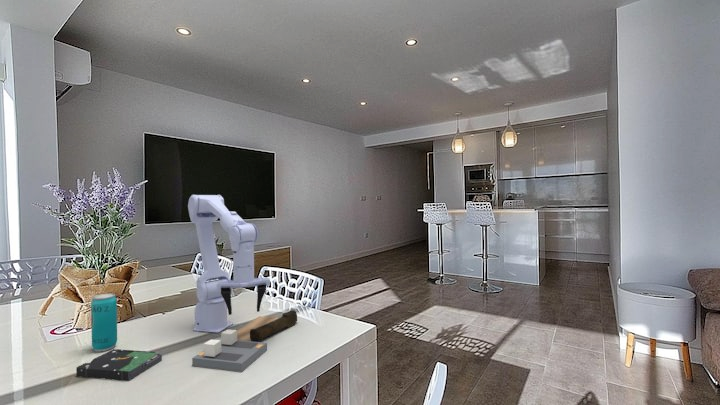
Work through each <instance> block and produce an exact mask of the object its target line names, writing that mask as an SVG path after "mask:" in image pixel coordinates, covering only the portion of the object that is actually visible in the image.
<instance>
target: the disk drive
mask: <svg viewBox="0 0 720 405" xmlns="http://www.w3.org/2000/svg"><path fill="white" fill-rule="evenodd" d="M162 357H163V356H162V354H161V352H157V351H145V350H133V349H119V348H117V349H116V348H115V349H114V348H112V349H110V350H108V351H106V353H103V354H101V355H99V356H96V357H95V358H92V360H91V361H90V362H85V363H82V364H80V365H78V366H76V368H75V369H76V372H75V373H76V374H75V375H76V377H77V376H82V377H81V378H89V377H94V378H93V379H101V378H105V379H104V380H112V379H114V381H122V382H123V381H125V382H130V381H132V380H134V379H135V378H137V377H138V376H140V375H142V374H143V373H145V372H146V371H147V370H149V369H151V368H152V367H154V366H156V365H157V364H159V363H160V362H162V361H163V358H162Z"/></svg>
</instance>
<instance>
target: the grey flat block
mask: <svg viewBox="0 0 720 405" xmlns="http://www.w3.org/2000/svg"><path fill="white" fill-rule="evenodd" d="M267 350H268V343H267V342H262V341H261V342H260V341H259V342H253V341H242V340H237V341H236V342H235V343H233V344H232V345H226V344H222V343H221V352H220V353H219V354H218V355H216V356H215V357H211V356H204V350H203V351H201V352H199V353H198V354H196V355H195V356H193V357H192V359H191V360H192V365H191V366H192V367H199V368H208V369H217V370H222V371H223V370H225V371H231V372H240V373H243V372H244V371H245V370H246V369H247V368H248V367H249V366H250V365H252V364H253V363H254V362H255V361H256V360H257V359H258V358H260V357H261V356H262V355H263V354H264V353H266V352H267Z"/></svg>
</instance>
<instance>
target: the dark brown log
mask: <svg viewBox="0 0 720 405" xmlns="http://www.w3.org/2000/svg"><path fill="white" fill-rule="evenodd" d="M278 318H279V319H276V320H274V321H272V322H270V323H268V324H265V325H263V326H261V327H258V328H256V329H251V330H250V339H251V341H253V342H260V341H263V339H264V338H266V337H269V336H271V335H272V334H274V333H276V332H279V331H280V330H282V329H284V328H285V329H289V328H291V327H292V326H293V325H296V323H297V322H298V313H297V311H296V310H295V309H293V310H289V311H286V312H284V313H283V314H282V316H280V317H278Z"/></svg>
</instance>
